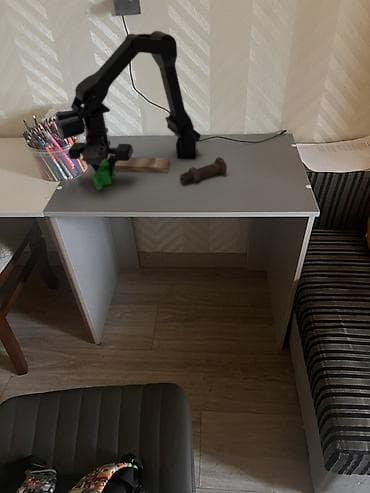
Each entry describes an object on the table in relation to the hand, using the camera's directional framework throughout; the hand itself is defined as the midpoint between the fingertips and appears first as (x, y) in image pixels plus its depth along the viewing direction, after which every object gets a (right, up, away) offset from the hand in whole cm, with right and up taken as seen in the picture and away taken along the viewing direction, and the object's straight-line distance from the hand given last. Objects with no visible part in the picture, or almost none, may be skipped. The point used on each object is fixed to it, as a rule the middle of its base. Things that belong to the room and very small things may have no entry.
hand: (105, 175), depth 119 cm
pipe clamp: (0, -1, +1) cm, 2 cm away
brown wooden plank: (+8, +4, +8) cm, 12 cm away
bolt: (+31, -1, +2) cm, 31 cm away
